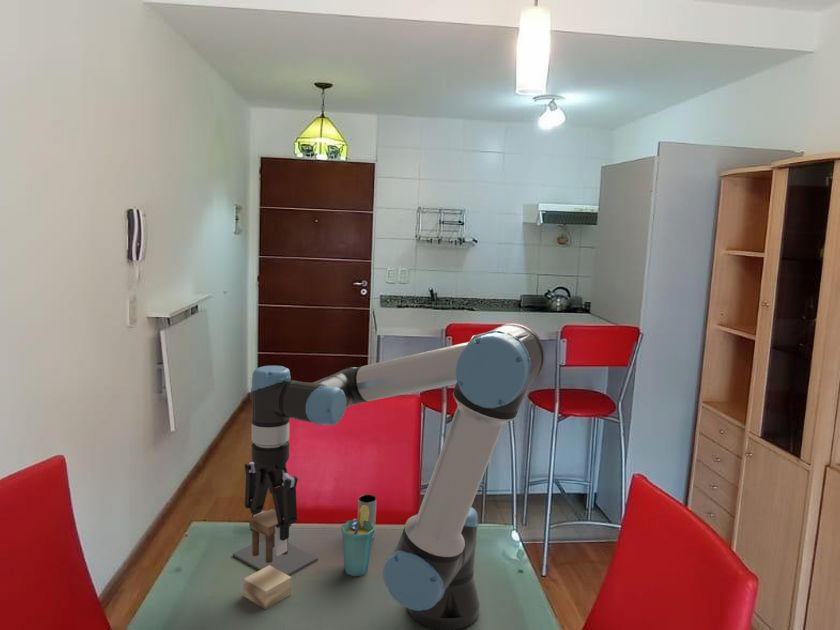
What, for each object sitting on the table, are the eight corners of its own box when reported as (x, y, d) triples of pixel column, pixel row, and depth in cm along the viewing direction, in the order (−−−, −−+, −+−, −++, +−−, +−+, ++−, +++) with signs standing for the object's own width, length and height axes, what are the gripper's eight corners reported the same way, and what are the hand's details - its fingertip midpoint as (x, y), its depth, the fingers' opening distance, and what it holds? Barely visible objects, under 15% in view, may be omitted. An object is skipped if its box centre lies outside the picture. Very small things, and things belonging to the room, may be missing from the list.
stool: (290, 552, 136) (291, 517, 134) (268, 564, 131) (268, 527, 130) (271, 543, 139) (271, 508, 138) (249, 554, 134) (249, 518, 133)
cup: (367, 591, 140) (370, 527, 138) (332, 587, 141) (334, 523, 138) (376, 557, 154) (379, 498, 152) (344, 554, 154) (346, 495, 152)
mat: (317, 560, 151) (317, 557, 151) (278, 581, 142) (279, 579, 142) (272, 537, 161) (272, 534, 161) (232, 556, 151) (232, 553, 151)
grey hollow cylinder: (367, 530, 167) (369, 492, 165) (378, 537, 163) (380, 499, 162) (353, 535, 164) (354, 497, 162) (363, 542, 161) (365, 503, 159)
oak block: (291, 594, 137) (291, 577, 137) (265, 609, 132) (265, 591, 131) (269, 582, 141) (269, 565, 141) (243, 596, 136) (243, 578, 135)
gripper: (317, 448, 129) (315, 555, 132) (254, 427, 140) (254, 527, 143) (288, 458, 123) (287, 570, 126) (225, 435, 134) (226, 539, 137)
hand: (270, 547), depth 135 cm, fingers closed on stool, 6 cm apart
